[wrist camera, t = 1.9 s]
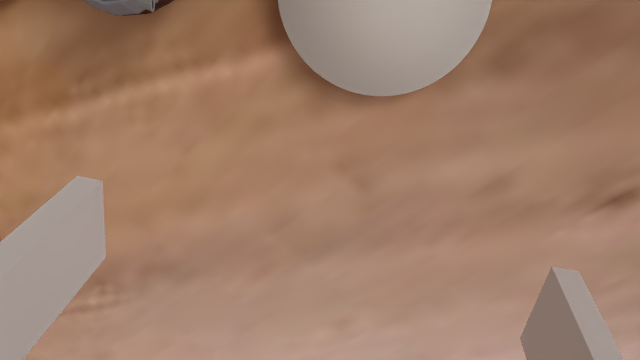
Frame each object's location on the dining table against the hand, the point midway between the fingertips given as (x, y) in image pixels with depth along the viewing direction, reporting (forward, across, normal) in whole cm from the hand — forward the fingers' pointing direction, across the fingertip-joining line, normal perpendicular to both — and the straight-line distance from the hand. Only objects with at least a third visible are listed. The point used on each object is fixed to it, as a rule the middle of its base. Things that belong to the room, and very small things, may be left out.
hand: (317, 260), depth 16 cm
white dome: (+23, +1, +5) cm, 23 cm away
